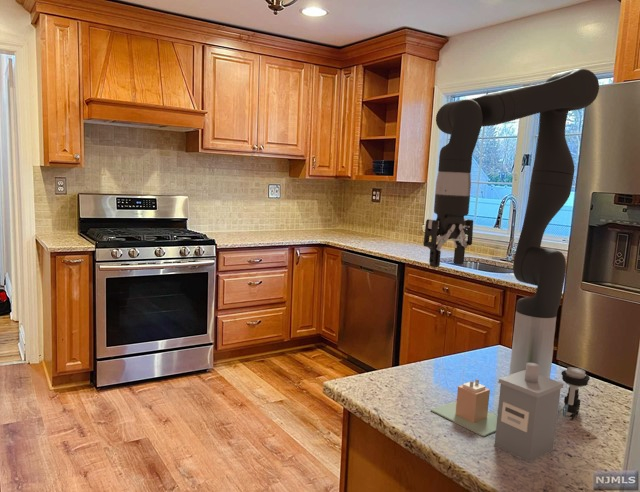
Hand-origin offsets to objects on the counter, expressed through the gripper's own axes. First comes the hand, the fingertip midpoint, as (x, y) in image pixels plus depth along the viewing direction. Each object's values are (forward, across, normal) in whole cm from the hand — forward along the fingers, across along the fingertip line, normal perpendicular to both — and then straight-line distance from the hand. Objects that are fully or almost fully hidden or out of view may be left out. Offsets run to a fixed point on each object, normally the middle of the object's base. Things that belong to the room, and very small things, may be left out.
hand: (446, 265), depth 117 cm
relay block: (+29, -6, -14) cm, 32 cm away
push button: (+29, +13, -25) cm, 41 cm away
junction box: (+29, -8, -27) cm, 40 cm away
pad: (+29, -6, -14) cm, 33 cm away
